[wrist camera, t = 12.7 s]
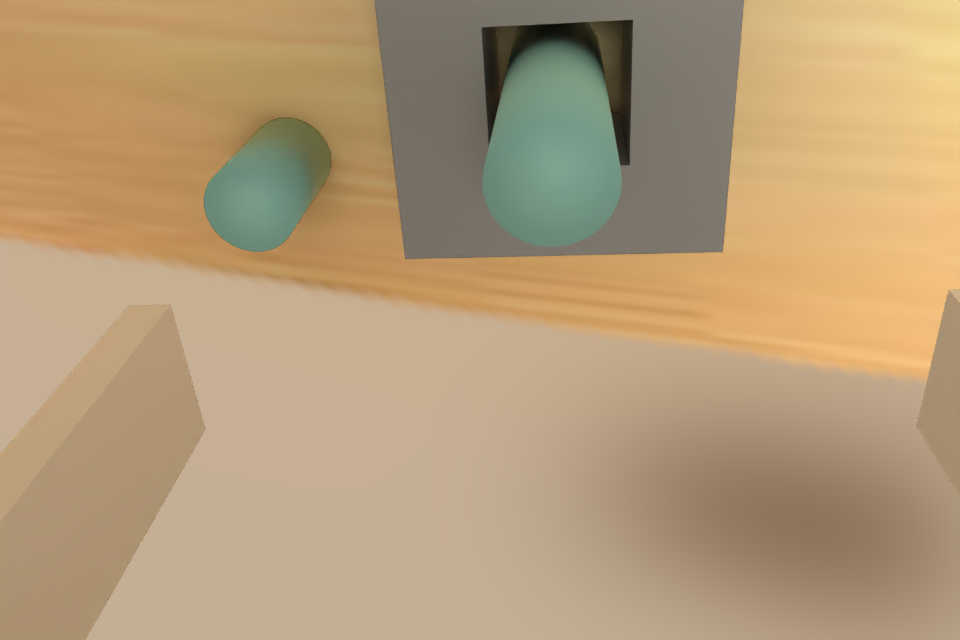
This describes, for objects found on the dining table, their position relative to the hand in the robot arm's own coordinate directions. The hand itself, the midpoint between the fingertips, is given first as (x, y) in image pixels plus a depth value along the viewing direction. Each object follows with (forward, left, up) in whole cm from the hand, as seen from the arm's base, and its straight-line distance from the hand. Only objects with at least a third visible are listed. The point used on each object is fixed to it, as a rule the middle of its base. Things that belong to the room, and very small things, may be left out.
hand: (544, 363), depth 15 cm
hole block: (0, 0, -24) cm, 24 cm away
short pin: (-12, -4, -24) cm, 27 cm away
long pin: (0, 0, -24) cm, 24 cm away
